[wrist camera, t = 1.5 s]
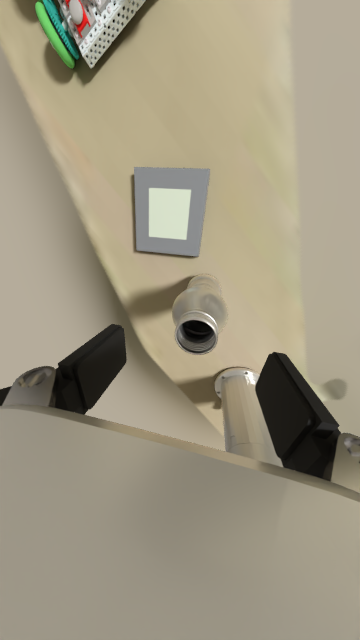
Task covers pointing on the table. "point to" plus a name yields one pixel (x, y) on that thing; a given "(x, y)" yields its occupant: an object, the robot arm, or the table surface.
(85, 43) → the robot kit
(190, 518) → the robot arm
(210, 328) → the plastic bottle
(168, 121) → the table surface
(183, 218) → the grey flat square slab
